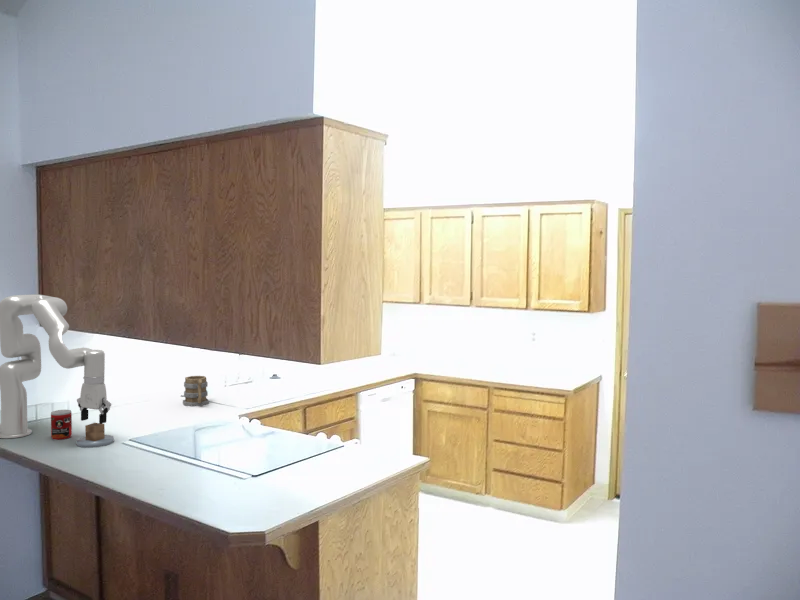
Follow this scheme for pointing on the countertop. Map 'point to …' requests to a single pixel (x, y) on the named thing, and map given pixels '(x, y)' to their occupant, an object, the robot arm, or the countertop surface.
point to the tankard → (195, 391)
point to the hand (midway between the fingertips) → (93, 421)
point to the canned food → (61, 424)
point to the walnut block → (94, 432)
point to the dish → (94, 442)
